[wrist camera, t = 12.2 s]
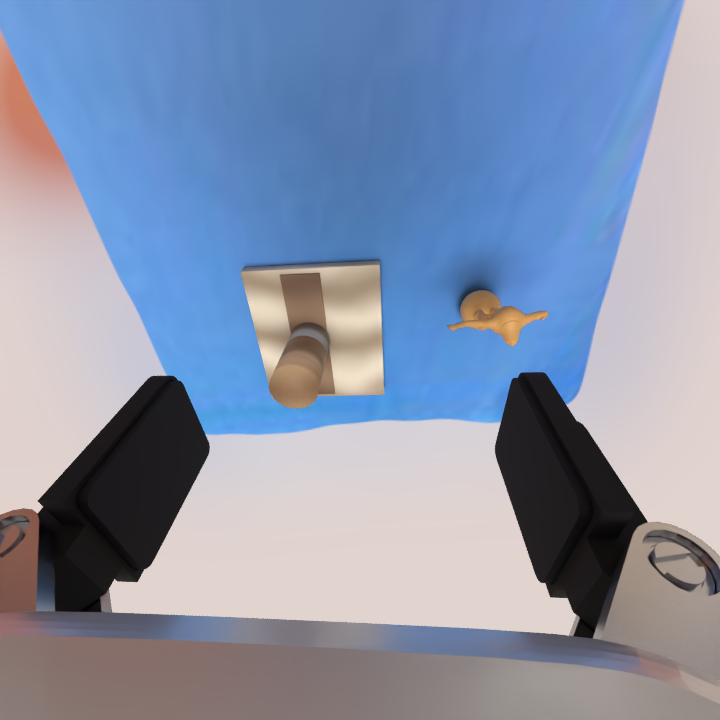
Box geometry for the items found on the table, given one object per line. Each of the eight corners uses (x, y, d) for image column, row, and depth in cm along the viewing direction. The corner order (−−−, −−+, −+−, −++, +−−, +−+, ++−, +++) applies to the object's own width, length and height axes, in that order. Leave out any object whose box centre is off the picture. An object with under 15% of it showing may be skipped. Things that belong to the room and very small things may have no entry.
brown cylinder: (287, 323, 37) (263, 369, 30) (327, 321, 37) (314, 368, 29) (294, 357, 40) (274, 409, 32) (332, 356, 39) (321, 407, 32)
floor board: (245, 267, 36) (239, 272, 34) (379, 260, 35) (379, 265, 33) (275, 389, 44) (271, 398, 43) (383, 387, 43) (384, 396, 42)
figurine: (437, 324, 38) (458, 389, 28) (434, 271, 35) (456, 323, 25) (515, 314, 37) (565, 377, 27) (519, 259, 34) (577, 307, 24)
